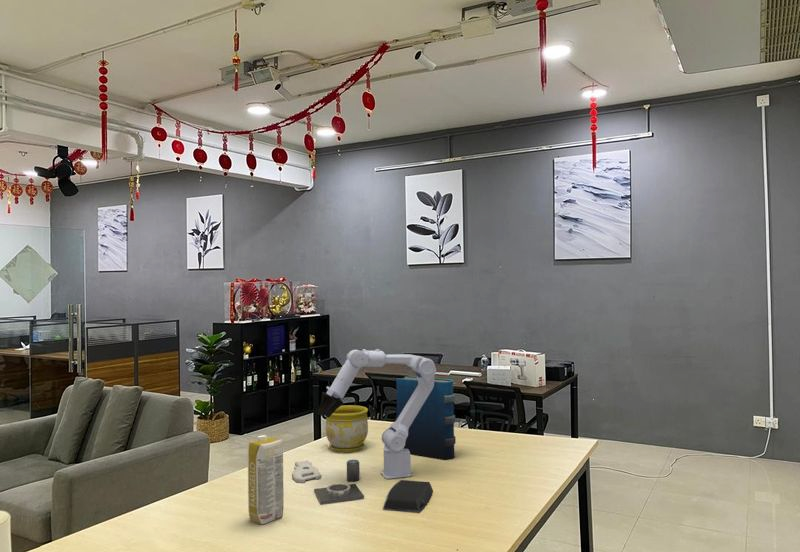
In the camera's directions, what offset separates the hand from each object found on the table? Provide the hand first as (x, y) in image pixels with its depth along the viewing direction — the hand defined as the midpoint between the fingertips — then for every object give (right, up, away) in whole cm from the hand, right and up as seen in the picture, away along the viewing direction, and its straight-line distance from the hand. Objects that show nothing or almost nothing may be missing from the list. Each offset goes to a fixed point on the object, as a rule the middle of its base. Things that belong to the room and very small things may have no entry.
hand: (323, 415), depth 199 cm
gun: (-8, -24, +10) cm, 27 cm away
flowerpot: (+4, -25, +43) cm, 50 cm away
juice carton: (-13, -23, -30) cm, 40 cm away
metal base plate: (+7, -23, -12) cm, 27 cm away
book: (+38, -24, +33) cm, 56 cm away
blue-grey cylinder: (+10, -23, +3) cm, 26 cm away
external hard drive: (+29, -23, -17) cm, 41 cm away
